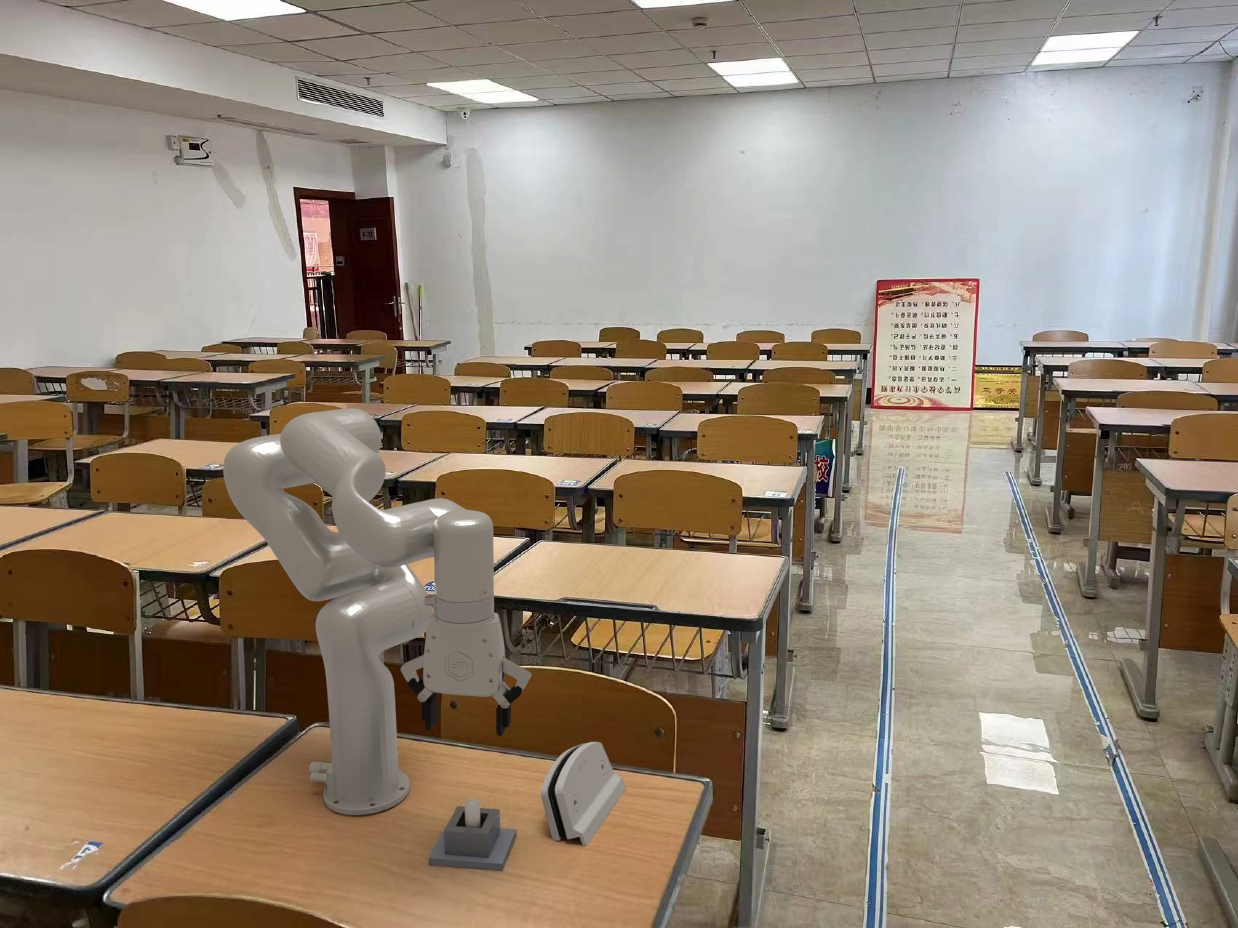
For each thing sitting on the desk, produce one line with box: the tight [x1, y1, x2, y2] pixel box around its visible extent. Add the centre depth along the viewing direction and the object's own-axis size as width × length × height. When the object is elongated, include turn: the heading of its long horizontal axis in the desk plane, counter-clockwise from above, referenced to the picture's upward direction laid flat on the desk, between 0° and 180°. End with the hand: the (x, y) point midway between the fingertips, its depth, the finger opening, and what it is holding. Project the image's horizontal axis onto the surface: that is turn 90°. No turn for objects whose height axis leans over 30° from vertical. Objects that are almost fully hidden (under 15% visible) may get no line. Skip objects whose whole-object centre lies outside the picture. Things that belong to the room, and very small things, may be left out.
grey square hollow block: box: [443, 805, 501, 858], centre depth 127 cm, size 6×6×4 cm
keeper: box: [428, 798, 518, 872], centre depth 126 cm, size 10×8×7 cm
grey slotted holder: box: [540, 741, 627, 847], centre depth 136 cm, size 17×5×10 cm, turn 160°
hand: (466, 728), depth 124 cm, fingers open, 9 cm apart
